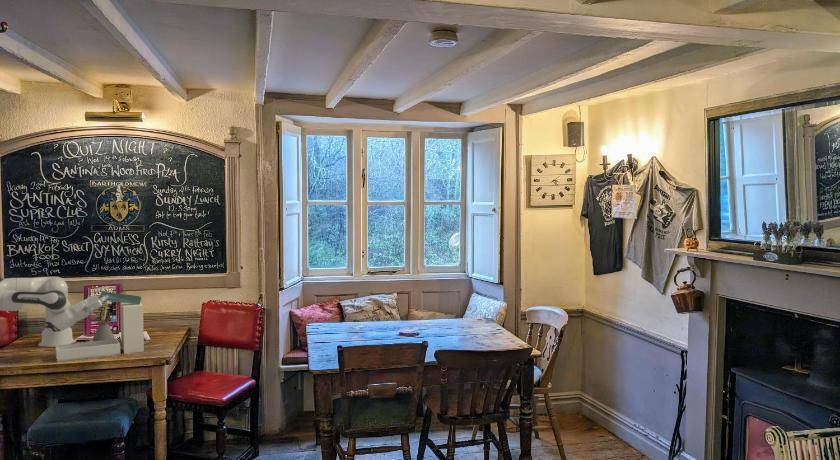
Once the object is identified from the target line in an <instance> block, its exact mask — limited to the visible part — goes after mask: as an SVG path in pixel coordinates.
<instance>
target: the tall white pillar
mask: <svg viewBox="0 0 840 460" xmlns="http://www.w3.org/2000/svg"><path fill="white" fill-rule="evenodd" d="M119 306H120V350H121V351H122V350H123V353H124V354H133V353H141V352H145V348H144V347H145V346H144V345H145V344H144V342H145V341H144V338H145V333H144V330H145V329H144V305H143V304H142V303H141V302H140V304H132V303H124V302H121V303H120V305H119Z"/></svg>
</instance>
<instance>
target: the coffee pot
mask: <svg viewBox="0 0 840 460" xmlns="http://www.w3.org/2000/svg"><path fill="white" fill-rule="evenodd" d="M112 316H113V314H112V312H110V313H108V316H107V317H106V320H105V319H103V320H98V321H97V324H98V326H97V328H96V330H95V333H94V335H93V337H92V340H93V341H101V340H110V339H116V338H115V337H116V336H115V335H114V333H113V331H112V328H111V326H110V325H109V323H110V322H111V321H110V319H111V317H112Z"/></svg>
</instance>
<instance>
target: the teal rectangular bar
mask: <svg viewBox="0 0 840 460" xmlns="http://www.w3.org/2000/svg"><path fill="white" fill-rule="evenodd" d="M106 294H107V295H108V296H109V298H107V299H106V300H105V301H106V302H107V301H109V302H116V303H117V302H118V303H132V304H140V303H141V301H142V297H141V296H140V295H134V294H133V295H132V294H126V293H125V294H124V293H117V292H109V291H100V295H101V296H100V298H102V297H103V296H105V295H106Z"/></svg>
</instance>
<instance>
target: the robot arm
mask: <svg viewBox="0 0 840 460" xmlns="http://www.w3.org/2000/svg"><path fill="white" fill-rule="evenodd" d="M68 293H69V287H68V284H67V282H66V280H64V278H62V277H60V276H38V277H37V276H36V277H9V278H4V277H3V278H2V277H1V276H0V311H3V312H4V311H5V312H15V311H16V312H18V311H20V310H21V309H22V308H24V306H25V305H41V306H43V307H45V320H44V327H45V328H44V329H43V331H42V332H41V337H42V338H41V341H40V342H39V343H38V344H37V345H38V347H48V348H51V347H52V348H53V347H55V348H56V345H65V344H74V343H77V341H76V339H74V338H73V330H72V328H71V327H72V326H74V325H75V324H76V323H77V322H80V321H82V320H84V319H85V318H87V317H89V316H90V315H91V313H92V312H94V311H96V310H98V309H100V308H101V307H103V302H104V301H106V299H107V298H109V296H108V295H107V294H106V295H105V296H103V297H102V298H100V296H101V294H100V295H96V294H93V295H91V296H88V297H87V298H86V299H84V300H80V301H78V302H77V303H75V304H74V305H71V303H70V300H69V294H68Z"/></svg>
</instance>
